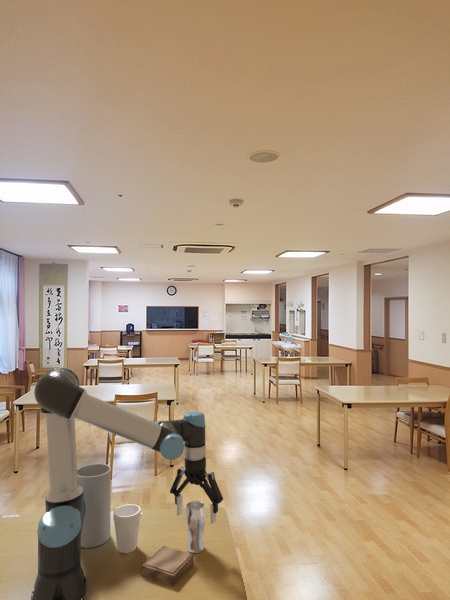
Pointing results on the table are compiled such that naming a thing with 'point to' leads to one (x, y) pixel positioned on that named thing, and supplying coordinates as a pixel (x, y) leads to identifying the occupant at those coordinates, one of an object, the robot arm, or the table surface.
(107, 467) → the cylinder vase
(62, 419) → the robot arm
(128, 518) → the foam cup
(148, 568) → the coaster
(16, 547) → the table surface
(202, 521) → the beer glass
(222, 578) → the table surface
